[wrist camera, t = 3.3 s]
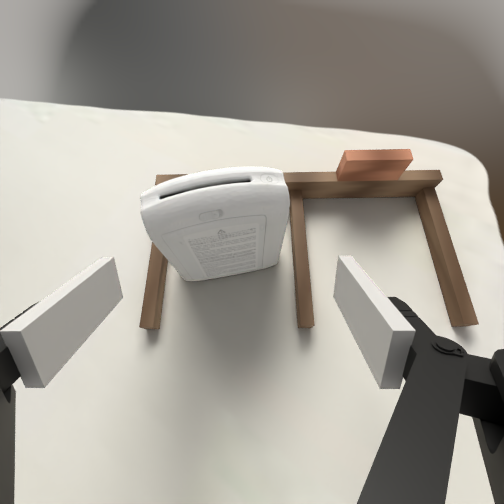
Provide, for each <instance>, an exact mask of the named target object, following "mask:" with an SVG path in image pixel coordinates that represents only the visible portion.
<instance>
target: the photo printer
mask: <svg viewBox="0 0 504 504" xmlns="http://www.w3.org/2000/svg"><path fill="white" fill-rule="evenodd" d="M140 199H141V217H142V220H143V223H144V226H145V228H146V231H147V233H148V235H149V237H150V239H151V241H152V242H153V243H154V244H155V246H156V247H157V248H158V249H159V250H160V252H161V253H162V254H163V255H164V256H165V257H166V259H167V260H168V261H169V262H170V263H171V265H172V266H173V267H174V268H175V269H176V270H177V272H178V273H179V274H180V275H181V276H182V278H183V279H184V280H185V281H201V280H208V279H214V278H220V277H225V276H231V275H236V274H241V273H246V272H251V271H256V270H260V269H264V268H268V267H271V266H273V265H276V264H277V263H278V260H279V255H280V251H281V247H282V243H283V238H284V234H285V230H286V226H287V222H288V218H289V207H290V197H289V191H288V187H287V185H286V183H285V180H284V176H283V172H282V171H281V170H279V169H274V168H268V167H231V168H221V169H213V170H208V171H202V172H197V173H193V174H188V175H184V176H181V177H177V178H174V179H171V180H168V181H165V182H163V183H160V184H158V185H156V186H154V187H152V188H150V189H148V190H146V191H144V192H143V193H142V194H141V196H140Z"/></svg>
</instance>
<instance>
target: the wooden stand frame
mask: <svg viewBox="0 0 504 504" xmlns="http://www.w3.org/2000/svg"><path fill="white" fill-rule="evenodd" d="M412 160H413V157H412V153H411V150H410V149H389V150H345V151H344V154H343V156H342V159H341V161H340V163H339V166H338V168H337V171H336V172H293V173H283V176H284V180H285V183H286V185H287V187H288V191H289V197H290V207H289V209H290V223H291V237H292V252H293V266H294V280H295V294H296V309H297V323H298V328H311V327H313V326H314V316H313V305H312V294H311V284H310V273H309V262H308V252H307V241H306V230H305V220H304V209H303V199H310V198H373V197H415V199H416V203H417V206H418V210H419V213H420V217H421V220H422V224H423V227H424V231H425V234H426V238H427V241H428V245H429V248H430V252H431V255H432V259H433V262H434V266H435V269H436V273H437V276H438V280H439V283H440V287H441V290H442V294H443V297H444V301H445V304H446V308H447V311H448V315H449V318H450V322H451V325H452V327H461V326H471V325H477V324H479V323H478V320H477V317H476V314H475V311H474V308H473V305H472V302H471V299H470V296H469V293H468V289H467V286H466V283H465V280H464V277H463V274H462V271H461V268H460V265H459V262H458V259H457V256H456V253H455V249H454V246H453V243H452V240H451V237H450V234H449V231H448V228H447V225H446V222H445V219H444V216H443V212H442V209H441V206H440V203H439V200H438V197H437V194H436V191H435V187H436V186H437V185H438V184H439V183H440V182H441V181H442V180H443V178H442V175H441V172H440V170H409V171H405V170H406V168H407V167H408V166H409V164H410V163H411V162H412ZM184 175H188V174H177V175H157V176H156V182H155V185H158V184H160V183H163V182H165V181H168V180H171V179H174V178H177V177H181V176H184ZM167 263H168V260H167V259H166V257H165V256H164V255H163V254H162V253H161V252H160V250H159V249H158V248H157V247H156V246H155V244H154V243H153V242H152V247H151V254H150V260H149V267H148V273H147V280H146V287H145V293H144V300H143V306H142V313H141V320H140V326H139V327H140V328H144V329H159V328H160V320H161V312H162V304H163V295H164V287H165V279H166V271H167Z"/></svg>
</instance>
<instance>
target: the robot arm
mask: <svg viewBox="0 0 504 504" xmlns="http://www.w3.org/2000/svg"><path fill="white" fill-rule="evenodd" d="M333 297H334V299H335V301H336V303H337V305H338V307H339V309H340V311H341V313H342V315H343V317H344V319H345V321H346V323H347V325H348V327H349V329H350V331H351V333H352V335H353V337H354V339H355V341H356V343H357V345H358V347H359V349H360V350H361V352H362V354H363V356H364V358H365V360H366V362H367V364H368V366H369V368H370V370H371V372H372V374H373V376H374V378H375V380H376V382H377V384H378V386H379V388H380V389H400V386H401V383H402V379H403V377H404V379H405V381H406V382H405V385H404V387H403V390H402V392H401V395H400V397H399V400H398V402H397V405H396V407H395V410H394V412H393V415H392V417H391V420H390V422H389V425H388V427H387V430H386V432H385V435H384V437H383V440H382V442H381V445H380V447H379V450H378V452H377V455H376V457H375V460H374V462H373V465H372V467H371V470H370V472H369V475H368V477H367V480H366V482H365V485H364V487H363V490H362V492H361V495H360V497H359V500H358V502H357V504H445V500H446V493H447V487H448V481H449V474H450V468H451V462H452V456H453V449H454V443H455V437H456V430H457V424H458V418H459V413H460V414H463V415H467V416H471V417H472V418H473V422H474V425H475V429H476V433H477V437H478V441H479V444H480V448H481V452H482V456H483V460H484V464H485V467H486V471H487V475H488V479H489V483H490V486H491V490H492V494H493V498H494V502H495V504H504V349H500V350H497V351H496V352H495V353H494V355H493V357H492V359H488V358H483V357H479V356H474V355H469V354H467V352H466V351H465V350H464V348H463V347H462V346H460V345H459V344H457V343H456V342H454V341H452V340H450V339H447V338H444V337H440V336H436V335H435V334H434V333H433V332H432V331H431V329H430V328H429V327H428V326H427V325H426V324H425V323H424V322H423V321H422V320H421V319H420V318H419V317H418V316H417V315H416V313H415V312H413V311H412V309H411V308H410V307H409V306H408V305H407V304H406V303H405V302H403V301H401V300H400V299H398V298H396V297H387V296H386V295H385V294H384V293H383V292H382V291H381V289H380V288H379V287H378V286H377V285H376V284H375V282H374V281H373V280H372V279H371V278H370V277H369V275H368V274H367V273H366V272H365V271H364V270H363V268H362V267H361V266H360V265H359V264H358V263H357V261H356V260H355V259H354V258H353V257H352V256H338V262H337V270H336V279H335V287H334V295H333ZM122 298H123V295H122V291H121V286H120V282H119V278H118V273H117V269H116V265H115V260H114V257H101V258H99V259H98V260H96V261H95V262H94V263H92V264H91V265H90V266H88V267H87V268H85V269H84V270H83V271H81V272H80V273H79V274H77V275H76V276H75V277H73V278H72V279H70V280H69V281H68V282H66V283H65V284H64V285H62V286H61V287H59V288H58V289H57V290H55V291H54V292H53V293H51V294H50V295H48V296H47V297H46V298H44V299H43V300H42V301H40V302H38V303H36V304H34V305H32V306H30V307H29V308H28V309H26V310H25V311H23V313H21V314H19V315H18V316H16V317H15V319H12V320H11V321H9V322H8V323H7V324H5V325H4V326H3V327H1V328H0V504H14V477H15V398H16V391H15V389H14V387H13V385H12V384H13V383H14V382H15V381H16V380H17V379H18V378H19V377H21V379H22V381H23V383H24V385H25V387H26V388H45V387H46V386H47V385H48V383H49V382H50V381H51V380H52V379H53V378H54V376H55V375H56V374H57V373H58V372H59V371H60V370H61V368H62V367H63V366H64V365H65V364H66V363H67V362H68V360H69V359H70V358H71V357H72V356H73V355H74V353H75V352H76V351H77V350H78V349H79V348H80V347H81V345H82V344H83V343H84V342H85V341H86V340H87V338H88V337H89V336H90V335H91V334H92V333H93V332H94V330H95V329H96V328H97V327H98V326H99V325H100V324H101V322H102V321H103V320H104V319H105V318H106V317H107V315H108V314H109V313H110V312H111V311H112V310H113V309H114V307H115V306H116V305H117V304H118V303H119V302H120V300H121V299H122Z"/></svg>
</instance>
